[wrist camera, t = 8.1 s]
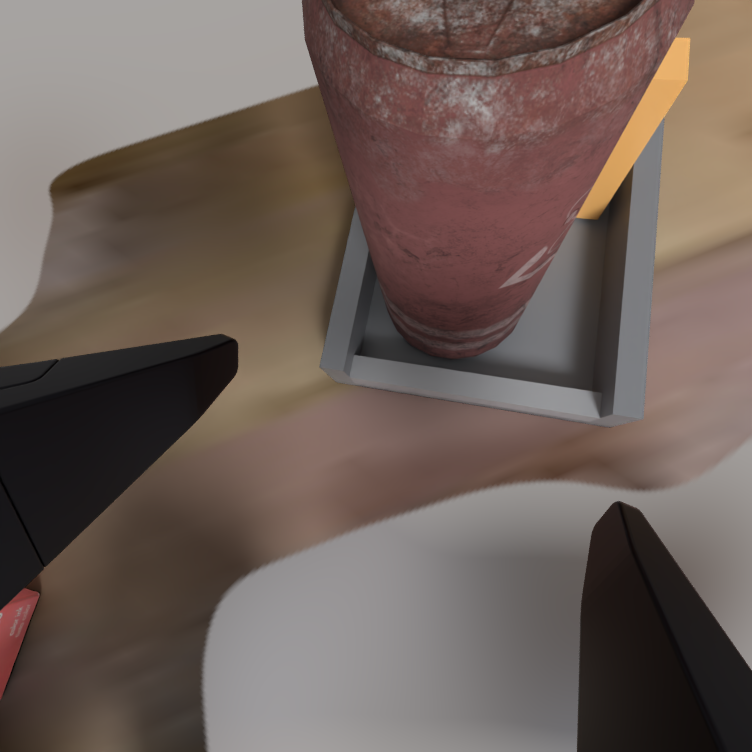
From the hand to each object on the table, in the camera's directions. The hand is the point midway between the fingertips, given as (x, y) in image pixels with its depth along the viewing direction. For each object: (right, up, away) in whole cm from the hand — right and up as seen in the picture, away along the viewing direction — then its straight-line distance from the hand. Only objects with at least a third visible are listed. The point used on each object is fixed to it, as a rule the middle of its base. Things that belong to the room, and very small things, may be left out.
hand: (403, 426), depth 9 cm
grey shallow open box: (+5, +7, +11) cm, 13 cm away
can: (+3, +5, +10) cm, 12 cm away
